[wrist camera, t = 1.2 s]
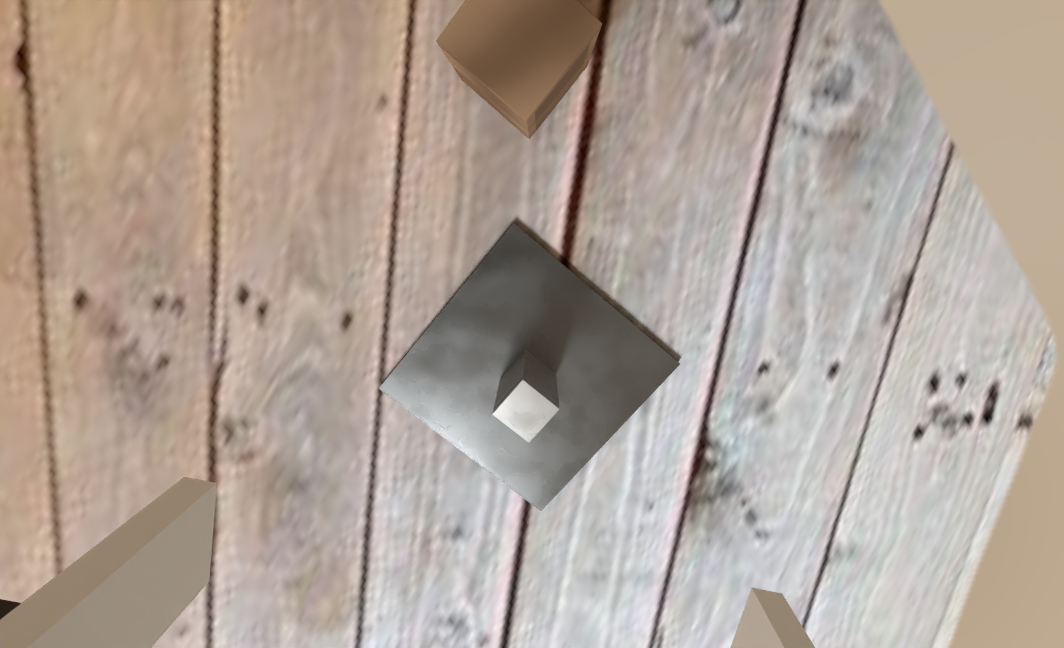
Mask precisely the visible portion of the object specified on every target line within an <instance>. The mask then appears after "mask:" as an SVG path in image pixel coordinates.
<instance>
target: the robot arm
mask: <svg viewBox="0 0 1064 648" xmlns="http://www.w3.org/2000/svg"><path fill="white" fill-rule="evenodd" d="M216 488H217V483H213V482H208V481H203V480H198V479H193V478H188V477H184V478H183V479H181V480H180V481H179V482H177V483H176V484H175V485H174V486H172V487H171V488H170V489H168V490H167V491H166V492H165V493H163V494H162V495H161V496H159V497H158V498H157V499H155V500H154V501H153V502H152V503H150V504H149V505H148V506H146V507H145V508H144V509H143V510H141V511H140V512H139V513H137V514H136V515H135V516H134V517H132V518H131V519H130V520H128V521H127V522H126V523H124V524H123V525H122V526H121V527H119V528H118V529H117V530H115V531H114V532H113V533H112V534H110V535H109V536H108V537H106V538H105V539H104V540H103V541H101V542H100V543H99V544H97V545H96V546H95V547H93V548H92V549H91V550H90V551H88V552H87V553H86V554H84V555H83V556H82V557H81V558H79V559H78V560H77V561H75V562H74V563H73V564H72V565H70V566H69V567H68V568H66V569H65V570H64V571H62V572H61V573H60V574H59V575H57V576H56V577H55V578H53V579H52V580H51V581H50V582H48V583H47V584H46V585H44V586H43V587H42V588H40V589H39V590H38V591H37V592H35V593H34V594H33V595H31V596H30V597H29V598H28V599H26V600H25V601H24V602H22V603H17V602H12V601H7V600H1V599H0V648H151V647H152V646H153V645H154V644H155V642H156V641H157V640H158V639H159V638H160V637H161V636H162V634H163V633H164V632H165V631H166V630H167V629H168V628H169V626H170V625H171V624H172V623H173V622H174V621H175V620H176V618H177V617H178V616H179V615H180V614H181V613H182V612H183V610H184V609H185V608H186V607H187V606H188V605H189V604H190V602H191V601H192V600H193V599H194V598H195V597H196V596H197V594H198V593H199V592H200V591H201V590H202V589H203V588H204V586H205V585H206V584H207V583H208V582H209V575H210V563H211V550H212V538H213V525H214V513H215V500H216ZM731 648H815V647H814V645H813V644H812V642H811V640H810V639H809V637H808V635H807V634H806V632H805V630H804V629H803V627H802V626H801V624H800V622H799V621H798V619H797V617H796V616H795V614H794V612H793V611H792V609H791V608H790V606H789V604H788V603H787V601H786V599H785V598H784V596H783V594H781V593H776V592H771V591H766V590H761V589H756V588H752V589H751V591H750V594H749V597H748V600H747V603H746V606H745V608H744V611H743V614H742V617H741V620H740V623H739V625H738V628H737V631H736V634H735V637H734V640H733V642H732V645H731Z"/></svg>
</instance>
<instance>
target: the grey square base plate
mask: <svg viewBox="0 0 1064 648" xmlns="http://www.w3.org/2000/svg"><path fill="white" fill-rule="evenodd" d="M679 365H680V363H679V362H678V361H677V360H676V359H674V358H673V357H672V356H671V355H670V354H669V353H667V352H666V351H665V350H664V349H663V348H661V347H660V346H659V345H658V344H657V343H655V342H654V341H653V340H652V339H651V338H650V337H648V336H647V335H646V334H645V333H644V332H642V331H641V330H640V329H639V328H638V327H637V326H635V325H634V324H633V323H632V322H631V321H629V320H628V319H627V318H626V317H625V316H624V315H622V314H621V313H620V312H619V311H618V310H616V309H615V308H614V307H613V306H612V305H611V304H609V303H608V302H607V301H606V300H605V299H603V298H602V297H601V296H600V295H599V294H598V293H596V292H595V291H594V290H593V289H592V288H590V287H589V286H588V285H587V284H586V283H585V282H583V281H582V280H581V279H580V278H579V277H577V276H576V275H575V274H574V273H573V272H572V271H570V270H569V269H568V268H567V267H566V266H564V265H563V264H562V263H561V262H560V261H558V260H557V259H556V258H555V257H554V256H553V255H551V254H550V253H549V252H548V251H547V250H545V249H544V248H543V247H542V246H541V245H540V244H538V243H537V242H536V241H535V240H534V239H532V238H531V237H530V236H529V235H528V234H527V233H525V232H524V231H523V230H522V229H521V228H519V227H518V226H517V225H516V224H515V223H513V224H512V225H511V227H510V228H509V229H508V230H507V231H506V233H505V234H504V235H503V236H502V238H501V239H500V240H499V241H498V242H497V244H496V245H495V246H494V247H493V249H492V250H491V251H490V252H489V254H488V255H487V256H486V257H485V258H484V260H483V261H482V262H481V263H480V265H479V266H478V267H477V268H476V270H475V271H474V272H473V273H472V274H471V276H470V277H469V278H468V279H467V281H466V282H465V283H464V284H463V285H462V287H461V288H460V289H459V290H458V292H457V293H456V294H455V295H454V297H453V298H452V299H451V300H450V301H449V303H448V304H447V305H446V306H445V308H444V309H443V310H442V311H441V313H440V314H439V315H438V316H437V317H436V319H435V320H434V321H433V322H432V324H431V325H430V326H429V327H428V328H427V330H426V331H425V332H424V333H423V335H422V336H421V337H420V338H419V340H418V341H417V342H416V343H415V344H414V346H413V347H412V348H411V349H410V351H409V352H408V353H407V354H406V356H405V357H404V358H403V359H402V360H401V362H400V363H399V364H398V365H397V367H396V368H395V369H394V370H393V371H392V373H391V374H390V375H389V376H388V378H387V379H386V380H385V381H384V383H383V384H382V385H381V386H380V387H379V389H380V390H382V391H383V392H384V393H386V394H387V395H388V396H390V397H391V398H392V399H394V400H395V401H396V402H398V403H399V404H400V405H401V406H403V407H404V408H405V409H407V410H408V411H409V412H411V413H412V414H413V415H415V416H416V417H417V418H419V419H420V420H421V421H423V422H424V423H425V424H427V425H428V426H429V427H431V428H432V429H433V430H435V431H436V432H437V433H438V434H440V435H441V436H442V437H444V438H445V439H446V440H448V441H449V442H450V443H452V444H453V445H454V446H456V447H457V448H458V449H460V450H461V451H462V452H464V453H465V454H466V455H468V456H469V457H470V458H472V459H473V460H474V461H475V462H477V463H478V464H479V465H481V466H482V467H483V468H485V469H486V470H487V471H489V472H490V473H491V474H493V475H494V476H495V477H497V478H498V479H499V480H501V481H502V482H503V483H505V484H506V485H507V486H509V487H510V488H511V489H512V490H514V491H515V492H516V493H518V494H519V495H520V496H522V497H523V498H524V499H526V500H527V501H528V502H530V503H531V504H532V505H534V506H535V507H536V508H538V509H539V510H540V511H542V510H543V508H544V507H545V506H546V505H547V504H548V503H549V502H550V501H551V500H552V499H553V498H554V497H555V496H556V495H557V494H558V493H559V492H560V490H561V489H562V488H563V487H564V486H565V485H566V484H567V483H568V482H569V481H570V480H571V479H572V478H573V477H574V476H575V475H576V474H577V472H578V471H579V470H580V469H581V468H582V467H583V466H584V465H585V464H586V463H587V462H588V461H589V460H590V459H591V458H592V457H593V456H594V455H595V453H596V452H597V451H598V450H599V449H600V448H601V447H602V446H603V445H604V444H605V443H606V442H607V441H608V440H609V439H610V438H611V437H612V435H613V434H614V433H615V432H616V431H617V430H618V429H619V428H620V427H621V426H622V425H623V424H624V423H625V422H626V421H627V420H628V419H629V418H630V416H631V415H632V414H633V413H634V412H635V411H636V410H637V409H638V408H639V407H640V406H641V405H642V404H643V403H644V402H645V401H646V400H647V398H648V397H649V396H650V395H651V394H652V393H653V392H654V391H655V390H656V389H657V388H658V387H659V386H660V385H661V384H662V383H663V382H664V381H665V379H666V378H667V377H668V376H669V375H670V374H671V373H672V372H673V371H674V370H675V369H676V368H677V367H678V366H679Z"/></svg>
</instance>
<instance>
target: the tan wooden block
mask: <svg viewBox="0 0 1064 648" xmlns="http://www.w3.org/2000/svg"><path fill="white" fill-rule="evenodd" d="M601 26H602V23H601V22H600V21H599V20H598V19H597V18H596V17H595V16H594V15H592V14H591V13H590V12H589V11H588V10H587V9H586V8H585V7H584V6H583V5H582V4H581V3H580V2H579V1H578V0H465V1H464V3H463V4H462V6H461V7H460V8H459V10H458V11H457V13H456V14H455V15H454V17H453V18H452V19H451V21H450V22H449V24H448V25H447V26H446V28H445V29H444V31H443V32H442V33H441V35H440V36H439V37H438V39H437V40H436V41H437V43H438V44H439V46H440V47H441V49H442V50H443V52H444V53H445V55H446V57H447V58H448V60H449V61H450V63H451V64H452V66H453V67H454V69H455V70H456V72H457V74H458V75H459V77H460V78H461V80H463V81H464V82H465V83H466V84H467V85H468V86H469V87H471V88H472V89H473V90H474V91H475V92H476V93H477V94H479V95H480V96H481V97H482V98H483V99H484V100H485V101H487V102H488V103H489V104H490V105H491V106H492V107H493V108H495V109H496V110H497V111H498V112H499V113H500V114H501V115H503V116H504V117H505V118H506V119H507V120H508V121H509V122H510V123H512V124H513V125H514V126H515V127H516V128H517V129H518V130H520V131H521V132H522V133H523V134H524V135H525V136H526V137H528V138H529V139H530V138H531V137H532V135H533V134H534V133H535V131H536V130H537V129H538V128H539V126H540V125H541V124H542V123H543V121H544V120H545V119H546V118H547V116H548V115H549V114H550V113H551V111H552V110H553V109H554V107H555V106H556V105H557V104H558V102H559V101H560V100H561V99H562V97H563V96H564V95H565V94H566V92H567V91H568V90H569V89H570V87H571V86H572V85H573V83H574V82H575V81H576V80H577V78H578V77H579V76H580V75H581V73H582V72H583V71H584V70H585V68H586V67H587V65H588V62H589V59H590V56H591V54H592V51H593V48H594V45H595V43H596V40H597V37H598V34H599V31H600V29H601Z"/></svg>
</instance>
